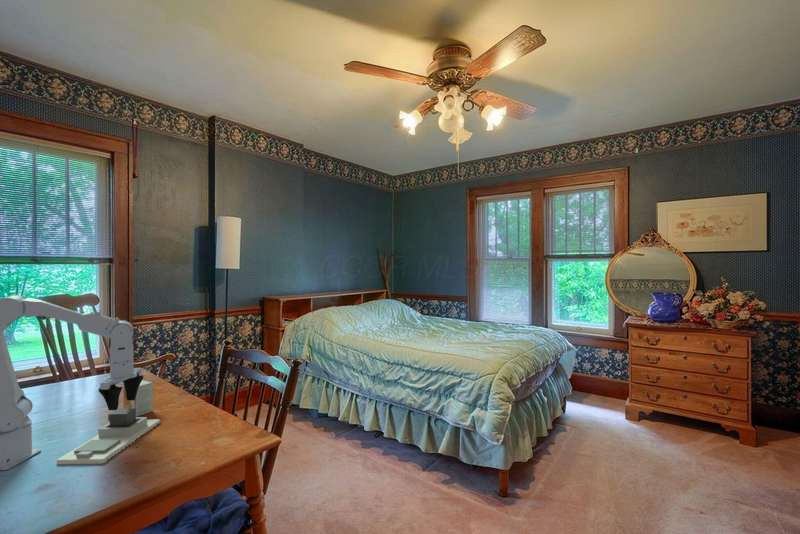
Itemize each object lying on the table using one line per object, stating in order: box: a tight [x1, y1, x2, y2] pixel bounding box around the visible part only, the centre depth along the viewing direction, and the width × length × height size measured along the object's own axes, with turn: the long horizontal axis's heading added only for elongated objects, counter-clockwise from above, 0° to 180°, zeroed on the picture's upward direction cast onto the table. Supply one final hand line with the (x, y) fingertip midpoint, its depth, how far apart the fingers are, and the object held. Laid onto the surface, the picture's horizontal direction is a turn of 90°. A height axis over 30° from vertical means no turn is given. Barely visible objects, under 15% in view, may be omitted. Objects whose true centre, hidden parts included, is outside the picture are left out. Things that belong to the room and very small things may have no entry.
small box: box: [123, 379, 154, 417], centre depth 128 cm, size 8×6×10 cm
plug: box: [107, 408, 136, 428], centre depth 112 cm, size 4×6×6 cm, turn 92°
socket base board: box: [56, 416, 161, 465], centre depth 108 cm, size 24×12×4 cm, turn 2°
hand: (122, 404), depth 112 cm, fingers open, 7 cm apart
